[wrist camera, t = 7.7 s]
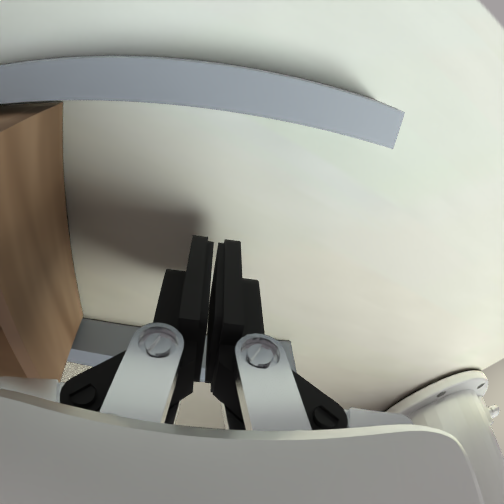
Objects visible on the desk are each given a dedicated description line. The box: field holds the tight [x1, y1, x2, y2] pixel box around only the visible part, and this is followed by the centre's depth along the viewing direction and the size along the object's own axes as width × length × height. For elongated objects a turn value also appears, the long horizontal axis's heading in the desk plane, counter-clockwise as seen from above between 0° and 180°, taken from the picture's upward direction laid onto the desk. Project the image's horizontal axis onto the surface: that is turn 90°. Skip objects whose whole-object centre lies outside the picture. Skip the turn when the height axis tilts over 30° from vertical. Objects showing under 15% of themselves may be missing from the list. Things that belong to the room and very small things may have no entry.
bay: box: [0, 56, 405, 382], centre depth 11 cm, size 22×13×2 cm, turn 79°
